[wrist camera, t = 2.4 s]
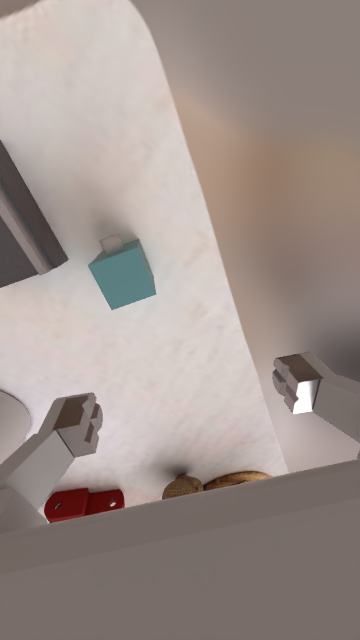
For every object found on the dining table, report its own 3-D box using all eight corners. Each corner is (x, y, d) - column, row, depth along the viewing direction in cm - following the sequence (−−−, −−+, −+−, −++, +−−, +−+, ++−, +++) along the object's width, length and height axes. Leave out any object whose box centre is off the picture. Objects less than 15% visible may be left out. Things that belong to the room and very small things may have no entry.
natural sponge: (153, 482, 51) (155, 538, 42) (174, 460, 48) (181, 516, 40) (183, 488, 54) (191, 542, 46) (205, 469, 52) (217, 522, 43)
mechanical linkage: (56, 507, 50) (47, 536, 46) (49, 491, 47) (39, 520, 43) (125, 498, 53) (124, 524, 48) (124, 481, 50) (122, 508, 45)
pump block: (118, 288, 29) (111, 310, 23) (95, 240, 26) (79, 250, 20) (153, 276, 29) (156, 294, 23) (134, 226, 26) (130, 231, 20)
